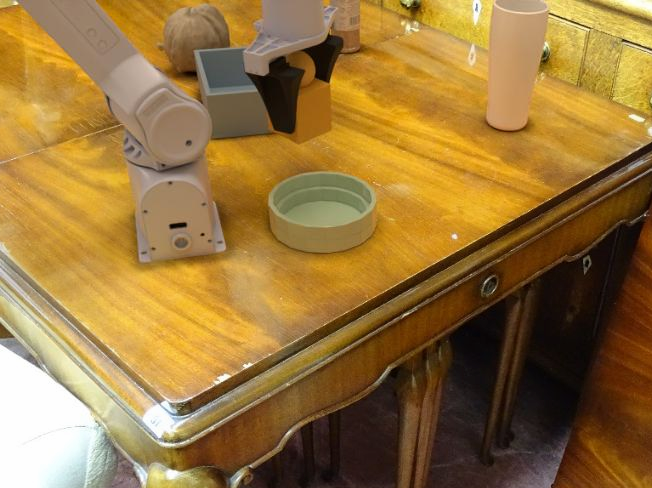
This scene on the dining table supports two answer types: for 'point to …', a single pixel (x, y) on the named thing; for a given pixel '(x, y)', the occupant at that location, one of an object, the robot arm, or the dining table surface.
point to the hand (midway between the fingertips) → (299, 118)
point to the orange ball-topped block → (309, 102)
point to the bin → (230, 94)
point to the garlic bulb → (193, 34)
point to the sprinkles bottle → (348, 24)
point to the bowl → (322, 211)
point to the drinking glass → (514, 60)
